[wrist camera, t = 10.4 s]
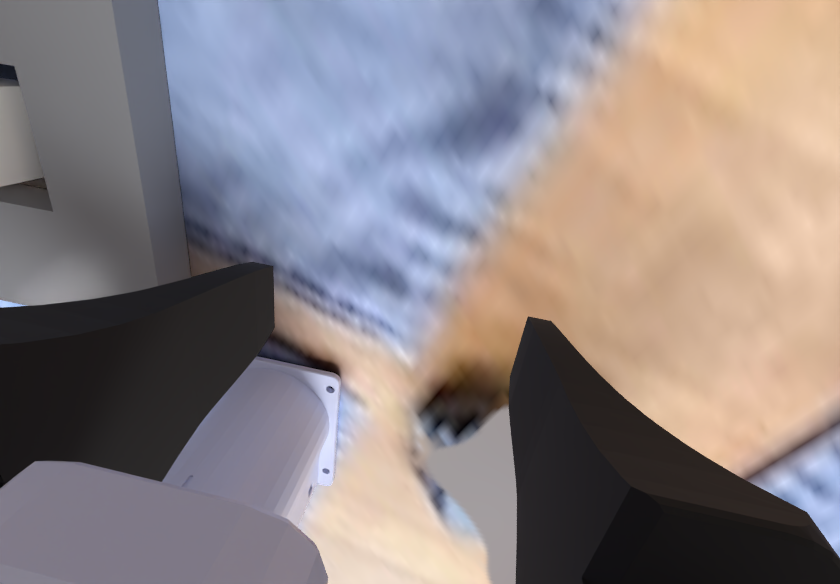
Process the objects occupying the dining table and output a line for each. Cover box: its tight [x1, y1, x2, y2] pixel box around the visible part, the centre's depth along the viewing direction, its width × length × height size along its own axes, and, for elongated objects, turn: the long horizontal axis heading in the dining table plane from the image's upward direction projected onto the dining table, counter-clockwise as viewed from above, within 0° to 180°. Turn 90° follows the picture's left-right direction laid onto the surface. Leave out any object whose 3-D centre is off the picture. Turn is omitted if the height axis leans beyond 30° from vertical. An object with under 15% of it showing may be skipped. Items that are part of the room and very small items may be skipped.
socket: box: [0, 0, 191, 306], centre depth 20 cm, size 18×16×2 cm
